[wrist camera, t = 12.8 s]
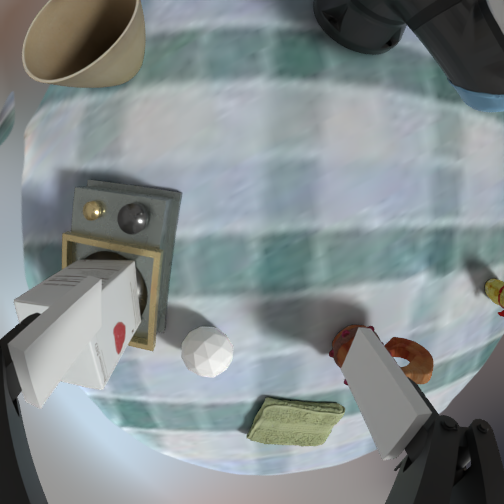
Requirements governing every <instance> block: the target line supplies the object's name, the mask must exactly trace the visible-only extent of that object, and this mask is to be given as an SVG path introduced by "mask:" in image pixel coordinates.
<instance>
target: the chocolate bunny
mask: <svg viewBox="0 0 504 504" xmlns="http://www.w3.org/2000/svg"><path fill="white" fill-rule="evenodd" d="M485 292H486V294H487V296H488V297H489V298H490V299H491V300H492V301H493V302H494V303H495V304H497V305H500V306H501V307H502V308H503V309H504V282H503V281H500V280H497V279H490V280H489V281H487V282H486V284H485ZM498 314H499V315H500V316H503V317H504V310H503V311H502V312H498Z"/></svg>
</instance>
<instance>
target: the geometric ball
mask: <svg viewBox="0 0 504 504" xmlns="http://www.w3.org/2000/svg"><path fill="white" fill-rule="evenodd" d="M181 357H182V359H183V361H184V363H185V365H186V367H187V368H188V370H190V371H192V372H194V373H196V374H197V375H199V376H203V377H215V376H217V375H219V374H220V373H222V372H223V371H225V370H226V369H227V368H228V366H229V365H230V363H231V361H232V360H233V345H232V343H231V342H230V340H229V339H228V337H227V335H226V334H224V333H223V332H222V331H220V330H219V329H217V328H216V327H202V326H201V327H199V328H197V329H195V330H192V331H190V332H189V334H188V335H187V336H186V338H185V339H184V341H183V342H182V353H181Z"/></svg>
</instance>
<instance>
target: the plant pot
mask: <svg viewBox="0 0 504 504" xmlns="http://www.w3.org/2000/svg"><path fill="white" fill-rule="evenodd" d="M144 52H145V22H144V15H143V10H142V5H141V0H49V1H48V2H47V4H45V6H44V7H43V8H42V9H41V10H40V12H39V13H38V14H37V16H36V17H35V19H34V20H33V22H32V24H31V25H30V27H29V29H28V31H27V34H26V36H25V39H24V43H23V48H22V62H23V66H24V69H25V71H26V72H27V74H28V75H29V76H30V77H31V78H32V79H34V80H35V81H38V82H42V83H48V84H54V85H60V86H68V87H79V88H99V87H109V86H115V85H120V84H123V83H125V82H127V81H129V80H130V79H132V78H133V77H134V76H135V75H136V74H137V73H138V71H139V70H140V68H141V66H142V63H143V58H144Z"/></svg>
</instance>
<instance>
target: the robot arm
mask: <svg viewBox="0 0 504 504" xmlns="http://www.w3.org/2000/svg"><path fill="white" fill-rule="evenodd" d="M313 8H314V13H315V16H316V19H317V21H318V23H319V24H320V26H321V27H322V28H323V30H324V31H325V32H326V33H327V34H328V35H329V36H330V37H331V38H333V39H334V40H335V41H337V42H338V43H340V44H341V45H343V46H345V47H347V48H349V49H351V50H353V51H356V52H359V53H363V54H372V55H374V54H382V53H385V52H387V51H389V50H390V49H391V48H393V47H394V46H396V45H397V44H398V42H399V41H400V40H401V38H402V35H403V33H404V30H405V28H406V26H407V25H408V26H409V28H410V29H411V30H412V31H413V32H414V34H415V35H416V36H417V37H418V38H419V40H420V41H421V42H422V43H423V45H424V46H425V47H426V48H427V50H428V51H429V52H430V54H431V55H432V56H433V58H434V59H435V60H436V62H437V63H438V65H439V66H440V67H441V69H442V70H443V72H444V73H445V75H446V76H447V79H448V81H449V83H450V84H451V85H452V86H453V87H454V88H455V89H456V91H457V92H458V94H459V95H460V97H461V98H462V100H463V101H464V102H465V103H466V104H467V105H468V106H470V107H472V108H473V109H475V110H478V111H483V112H501V111H504V0H314V5H313ZM101 287H102V279H100V278H97V277H93V276H87V277H86V278H85V279H83V280H82V281H81V282H80V283H78V284H77V285H76V286H75V287H73V288H72V289H71V290H70V291H68V292H67V293H66V294H65V295H63V296H62V297H61V298H60V299H59V300H57V301H56V302H55V303H54V304H53V305H51V306H50V307H49V308H48V309H47V310H45V311H44V312H43V313H42V314H40V313H38V312H37V313H34V314H32V315H29V316H27V317H26V318H25V319H23V320H22V321H21V323H19V324H18V325H16V326H15V328H13V329H12V330H11V331H9V332H8V333H7V334H6V335H5V336H4V337H3V338H1V339H0V504H48V502H47V500H46V497H45V494H44V492H43V489H42V486H41V484H40V481H39V478H38V475H37V472H36V469H35V466H34V463H33V460H32V457H31V453H30V449H29V445H28V442H27V438H26V434H25V429H24V425H23V420H22V415H21V410H20V405H19V401H18V398H17V396H18V395H19V394H20V392H21V391H22V393H23V396H24V399H25V401H26V402H28V403H29V404H31V405H33V406H35V407H37V408H39V409H41V408H42V407H43V405H44V404H45V402H46V401H47V399H48V398H49V396H50V395H51V394H52V392H53V391H54V389H55V388H56V386H57V385H58V384H59V382H60V381H61V379H62V378H63V377H64V375H65V374H66V373H67V371H68V370H69V368H70V367H71V366H72V364H73V363H74V362H75V360H76V359H77V358H78V356H79V355H80V354H81V352H82V351H83V350H84V348H85V347H86V346H87V345H88V343H89V342H90V341H91V339H92V338H93V337H94V335H95V334H96V333H97V332H98V330H99V329H100V328H101V327H102V317H101ZM341 371H342V373H343V375H344V377H345V379H346V381H347V383H348V386H349V388H350V390H351V392H352V394H353V396H354V398H355V401H356V403H357V405H358V407H359V409H360V411H361V414H362V416H363V418H364V420H365V422H366V425H367V427H368V429H369V431H370V433H371V436H372V438H373V440H374V442H375V445H376V447H377V449H378V451H379V454H380V456H381V458H382V460H388V459H394V458H397V457H398V456H399V455H400V454H401V453H402V451H403V450H404V449H405V451H406V452H407V456H406V457H405V458H404V459H403V460H402V461H401V462H400V463H399V465H398V466H397V467H396V468H395V469H394V471H397V469H398V468H400V470H399V472H398V475H397V477H396V480H395V482H394V485H393V487H392V490H391V492H390V494H389V496H388V499H387V500H386V503H385V504H504V469H503V465H502V461H501V457H500V453H499V449H498V446H497V442H496V439H495V436H494V433H493V430H492V428H491V426H490V425H489V424H488V422H486V421H485V420H481V419H475V420H473V422H472V423H471V424H470V426H469V427H459V425H458V423H457V422H456V421H455V420H454V419H452V418H451V417H449V416H445V415H441V416H439V414H438V413H437V411H436V410H435V409H434V407H433V406H432V404H431V403H430V402H429V400H428V399H427V398H426V396H425V395H424V393H423V392H421V391H422V390H421V389H420V388H419V386H418V385H417V384H416V383H415V382H414V381H413V380H411V379H410V378H409V377H406V375H405V374H404V372H403V371H402V370H401V368H400V367H399V366H398V364H397V363H396V361H395V360H394V359H393V357H392V356H391V355H390V353H389V352H388V351H387V349H386V348H385V347H384V345H383V344H382V343H381V341H380V340H379V339H378V337H377V336H376V335H375V333H374V332H373V331H372V330H371V329H370V328H361V327H359V328H358V330H357V333H356V335H355V338H354V340H353V342H352V345H351V347H350V349H349V352H348V354H347V356H346V358H345V361H344V363H343V365H342V367H341ZM470 460H471V466H470V467H469V468H468V469H466V465H467V464H468V462H469V461H470Z"/></svg>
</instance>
